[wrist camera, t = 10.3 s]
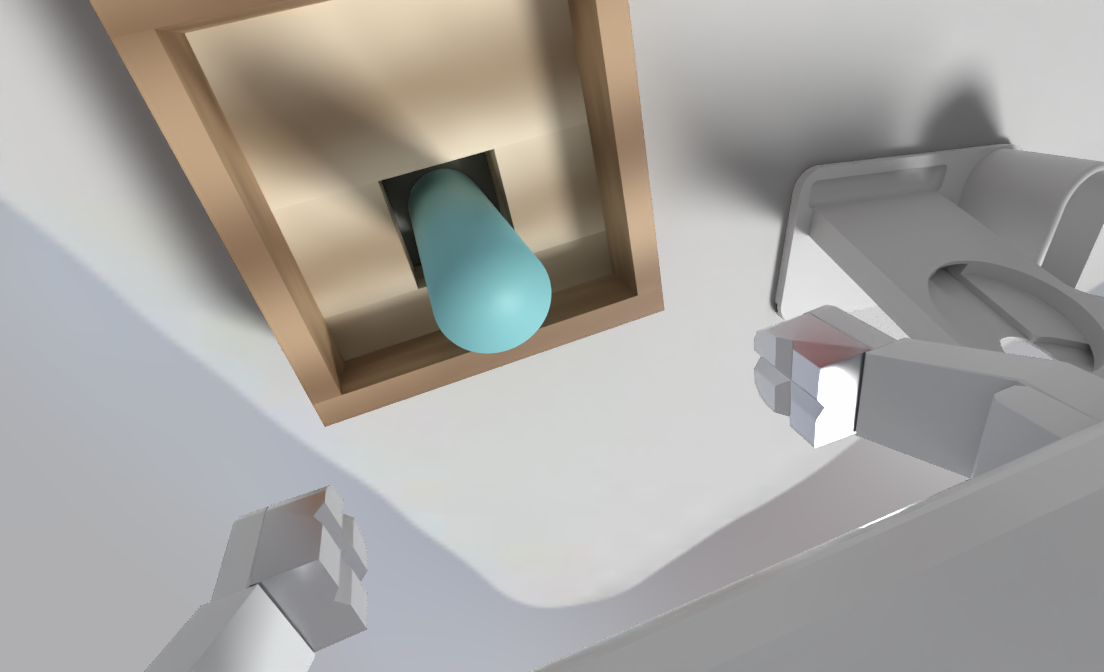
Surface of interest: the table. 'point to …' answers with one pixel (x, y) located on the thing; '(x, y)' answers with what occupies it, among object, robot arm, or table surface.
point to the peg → (475, 265)
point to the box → (400, 164)
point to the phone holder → (953, 247)
